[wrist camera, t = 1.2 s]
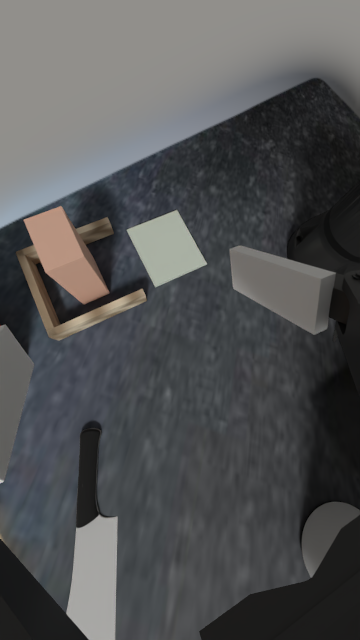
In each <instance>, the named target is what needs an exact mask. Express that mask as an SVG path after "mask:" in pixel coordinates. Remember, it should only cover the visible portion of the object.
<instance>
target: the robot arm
mask: <svg viewBox="0 0 360 640" xmlns="http://www.w3.org/2000/svg"><path fill="white" fill-rule="evenodd" d="M287 255H288V259H286V258H282V257H279V256H275V255H272V254H268V253H265V252H261V251H258V250H254V249H251V248H247V247H244V246H237V247H234V248H231V249H230V259H231V270H232V281H233V289H235V290H237V291H238V292H240V293H242V294H244V295H245V296H247V297H249V298H251V299H252V300H254V301H256V302H258V303H259V304H261V305H263V306H265V307H266V308H268V309H270V310H272V311H273V312H275V313H277V314H279V315H280V316H282V317H284V318H286V319H287V320H289V321H291V322H293V323H294V324H296V325H298V326H299V327H301V328H303V329H305V330H306V331H308V332H310V333H312V334H313V335H315V334H317V333H319V332H321V331H324V330H326V329H327V327H328V321H329V317H330V318H332V319H334V320H336V324H335V330H334V335H333V341H334V342H336V338H337V337H338V338H339V340H340V343H341V346H342V349H343V352H344V355H345V357H346V360H347V363H348V366H349V369H350V372H351V375H352V377H353V380H354V383H355V386H356V389H357V392H358V395H359V397H360V181H359V182H358V183H357V184H356V185H355V186H354V187H353V188H351V189H350V190H349V191H348V192H347V193H346V194H345V195H344V196H343V197H342V198H341V199H340V200H339V201H338V202H337V203H336V204H335V205H334V206H333V207H332V208H331V209H330V210H328V211H326V212H324V213H322V214H320V215H318V216H316V217H314V218H312V219H310V220H308V221H306V222H305V223H304V224H302V225H301V226H300V227H299V228H298V229H297V230H296V231H295V232H294V234H293V235H292V236H291V238H290V240H289V243H288V248H287ZM33 367H34V363H33V362H32V361H31V359H30V358H29V356H28V355H27V354H26V352H25V351H24V349H23V348H22V347H21V345H20V344H19V342H18V341H17V340H16V338H15V337H14V335H13V334H12V333H11V331H10V330H9V329H8V327H7V326H6V324H5V325H2V326H0V483H2V482H4V480H5V476H6V472H7V468H8V464H9V460H10V456H11V453H12V449H13V445H14V441H15V437H16V433H17V429H18V425H19V421H20V418H21V414H22V410H23V406H24V402H25V398H26V394H27V390H28V386H29V383H30V379H31V375H32V371H33ZM199 632H200V636H201V639H202V640H360V515H359V516H358V517H356V518H355V519H353V520H352V521H351V522H349V523H348V524H347V525H345V526H344V527H342V528H341V529H340V531H339V533H338V534H337V536H336V538H335V540H334V541H333V543H332V545H331V546H330V548H329V550H328V551H327V553H326V555H325V557H324V558H323V560H322V562H321V563H320V565H319V567H318V569H317V570H316V572H315V574H314V575H313V576H312V578H310V579H309V580H307V581H305V582H301V583H296V584H292V585H288V586H284V587H279V588H275V589H271V590H267V591H262V592H258V593H254V594H250V595H249V596H247V597H246V598H245V599H243V600H242V601H240V602H239V603H238V604H236V605H235V606H234V607H232V608H231V609H229V610H228V611H227V612H225V613H224V614H223V615H221V616H220V617H218V618H217V619H216V620H214V621H213V622H212V623H210V624H209V625H207V626H206V627H205V628H203V629H202V630H201V631H199ZM0 640H89V639H88V638H87V637H86V636H85V635H84V634H83V632H82V631H81V630H80V629H79V628H78V627H77V626H76V624H75V623H74V622H73V621H72V620H71V619H70V618H69V616H68V615H67V614H66V613H65V612H64V611H63V610H62V608H61V607H60V606H59V605H58V604H57V603H56V602H55V601H54V599H53V598H52V597H51V596H50V595H49V594H48V593H47V591H46V590H45V589H44V588H43V587H42V586H41V585H40V583H39V582H38V581H37V580H36V579H35V578H34V577H33V575H32V574H31V573H30V572H29V571H28V570H27V569H26V567H25V566H24V565H23V564H22V563H21V562H20V561H19V560H18V558H17V557H16V556H15V555H14V554H13V553H12V552H11V550H10V549H9V548H8V547H7V546H6V545H5V544H4V542H3V541H2V540H1V539H0Z"/></svg>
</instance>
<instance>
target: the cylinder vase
mask: <svg viewBox="0 0 360 640" xmlns="http://www.w3.org/2000/svg"><path fill="white" fill-rule="evenodd" d="M359 515H360V510H359V509H357V508H356V507H354V506H352V505H350V504H347V503H343V502H329V503H325V504H323V505H321V506H319V507H318V508H316V509H315V510H314V511H313V512H312V513H311V515H310V516H309V518H308V519H307V521H306V523H305V526H304V529H303V533H302V554H303V559H304V562H305V565H306V568H307V570H308V572H309V574H310V576H311V578H312V576H313V575H314V574H315V572H316V570H317V569H318V567H319V565H320V563H321V562H322V560H323V558H324V557H325V555H326V553H327V551H328V550H329V548H330V546H331V545H332V543H333V541H334V540H335V538H336V536H337V534H338V533H339V531H340V529H341V528H342V527H344V526H345V525H347V524H348V523H349V522H351V521H352V520H353V519H355V518H356V517H358V516H359Z"/></svg>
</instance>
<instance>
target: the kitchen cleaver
mask: <svg viewBox="0 0 360 640" xmlns="http://www.w3.org/2000/svg"><path fill="white" fill-rule="evenodd" d="M100 437H101V431H100V430H99V429H97V428H89V429H86V430H84V431H82V432H81V433H80V455H79V477H78V494H77V513H76V527H77V529H76V540H75V553H74V565H73V575H72V584H71V591H70V597H69V602H68V608H67V612H66V614H67V615H68V616H69V618H70V619H71V620H72V621H73V622H74V623H75V624H76V626H77V627H78V628H79V629H80V630H81V631H82V632H83V634H84V635H85V636H86V637H87V638H88V639H89V640H115V611H116V563H117V517H103V516H101V515H100V514H99V510H98V507H97V502H96V485H97V464H98V448H99V441H100Z"/></svg>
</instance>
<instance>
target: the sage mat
mask: <svg viewBox="0 0 360 640" xmlns="http://www.w3.org/2000/svg"><path fill="white" fill-rule="evenodd" d="M127 232H128V234H129V236H130V238H131V240H132V242H133V244H134V246H135V248H136V250H137V252H138V254H139V256H140V258H141V260H142V262H143V264H144V266H145V268H146V270H147V272H148V274H149V276H150V278H151V280H152V282H153V284H154V286H155V287H157V286H160V285H162V284H164V283H166V282H169V281H171V280H173V279H175V278H178V277H180V276H182V275H184V274H187V273H189V272H191V271H193V270H196V269H198V268H200V267H202V266H205V265H207V263H206V261H205V259H204V258H203V256H202V254H201V252H200V250H199V249H198V247H197V245H196V243H195V241H194V240H193V238H192V236H191V234H190V232H189V231H188V229H187V227H186V225H185V223H184V222H183V220H182V218H181V216H180V214H179V213H178V211H177V210H175V211H173V212H170V213H168V214H165V215H163V216H160V217H158V218H155V219H153V220H150V221H148V222H145V223H143V224H140V225H137V226H135V227H132V228H130V229H127Z"/></svg>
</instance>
